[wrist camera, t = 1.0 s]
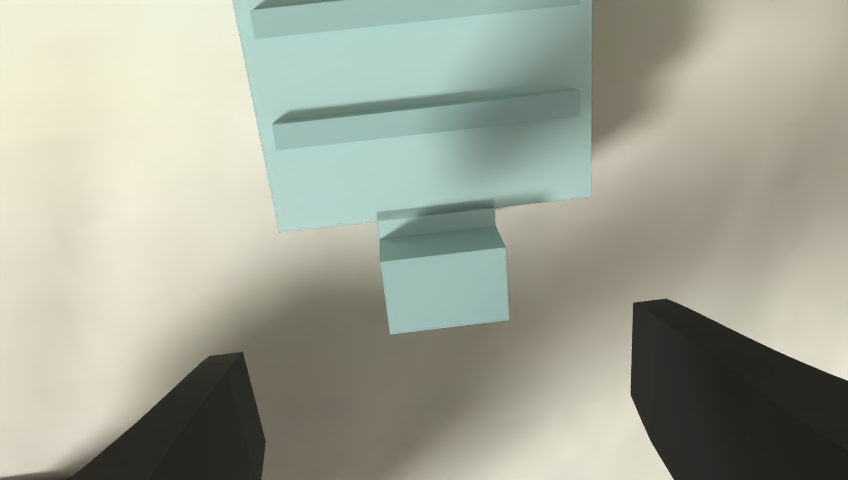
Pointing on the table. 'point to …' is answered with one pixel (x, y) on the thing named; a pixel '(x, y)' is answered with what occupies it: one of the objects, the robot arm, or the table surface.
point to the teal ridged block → (422, 131)
